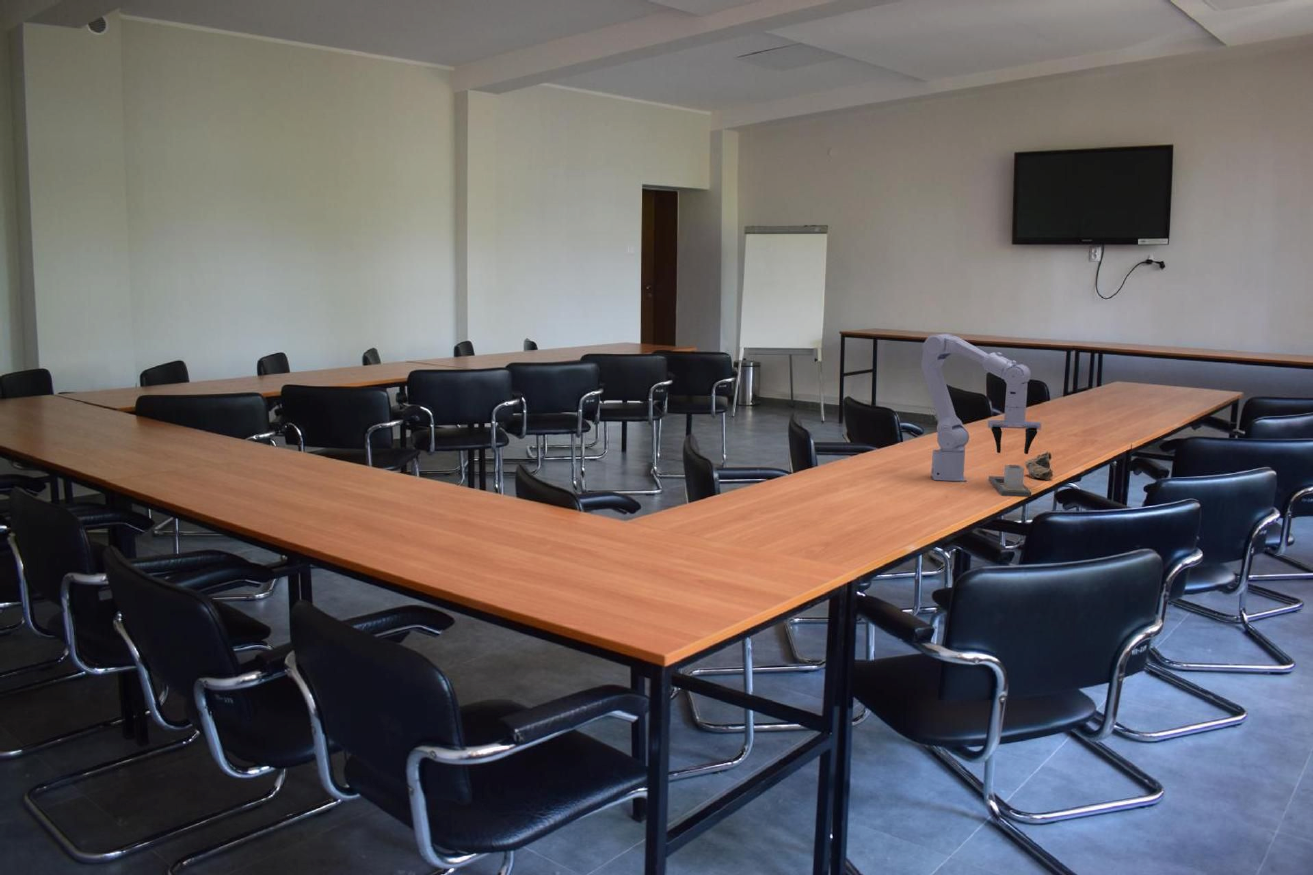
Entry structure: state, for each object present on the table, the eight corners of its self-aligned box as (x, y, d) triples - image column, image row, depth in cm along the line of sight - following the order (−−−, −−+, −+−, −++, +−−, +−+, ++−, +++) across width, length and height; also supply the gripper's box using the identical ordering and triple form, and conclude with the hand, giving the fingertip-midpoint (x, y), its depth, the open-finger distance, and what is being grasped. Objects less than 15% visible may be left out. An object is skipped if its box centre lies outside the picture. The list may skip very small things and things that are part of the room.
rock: (1067, 474, 315) (1050, 450, 321) (1057, 467, 310) (1040, 443, 316) (1043, 492, 319) (1027, 467, 325) (1033, 485, 314) (1016, 460, 320)
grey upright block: (1006, 488, 295) (1007, 466, 294) (1003, 485, 299) (1005, 464, 298) (1022, 489, 294) (1024, 467, 293) (1019, 486, 298) (1020, 464, 297)
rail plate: (1001, 495, 292) (1001, 491, 292) (988, 480, 314) (988, 475, 313) (1031, 496, 291) (1031, 492, 291) (1016, 480, 312) (1016, 476, 312)
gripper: (991, 407, 297) (988, 454, 299) (1044, 409, 295) (1041, 456, 297) (987, 404, 304) (984, 450, 306) (1039, 406, 301) (1036, 452, 304)
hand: (1012, 453), depth 302 cm, fingers open, 7 cm apart
